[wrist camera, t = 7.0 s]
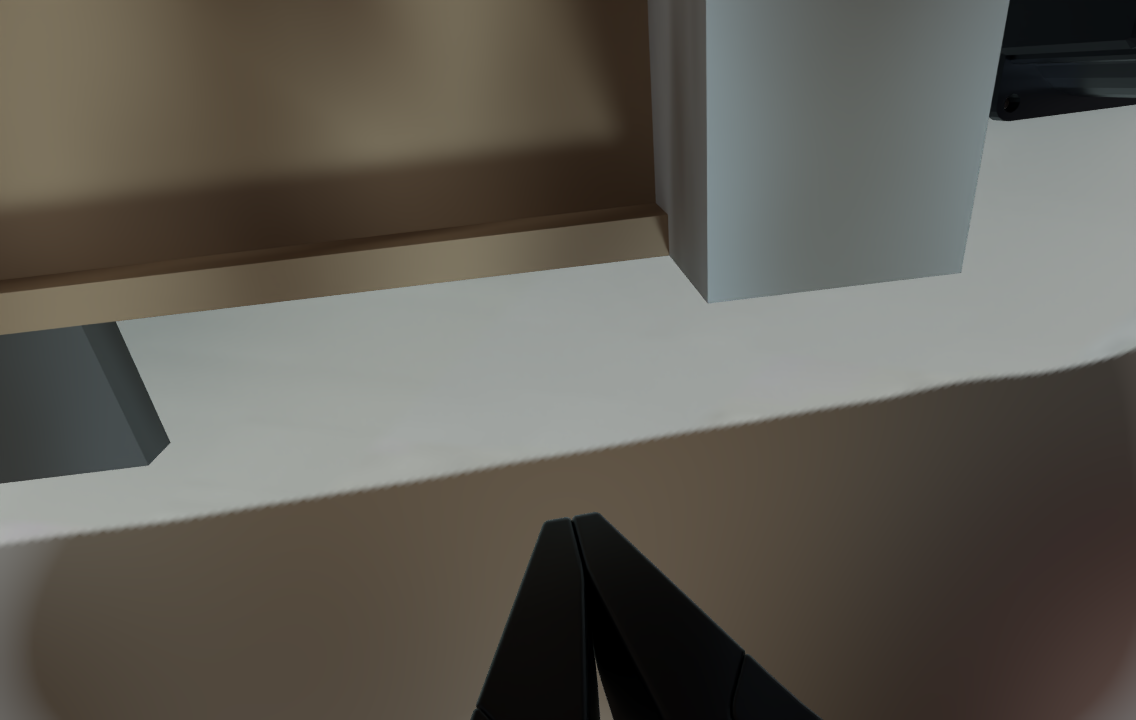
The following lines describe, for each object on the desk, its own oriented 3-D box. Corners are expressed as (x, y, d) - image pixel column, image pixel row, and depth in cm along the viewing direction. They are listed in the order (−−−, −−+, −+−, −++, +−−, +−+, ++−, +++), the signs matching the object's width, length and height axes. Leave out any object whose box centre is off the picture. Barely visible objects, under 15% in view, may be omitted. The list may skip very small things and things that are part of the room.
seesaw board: (854, -251, 11) (1096, -492, 6) (809, 365, 16) (923, 481, 11) (-423, -112, 10) (-1159, -258, 6) (-47, 469, 15) (-284, 631, 11)
